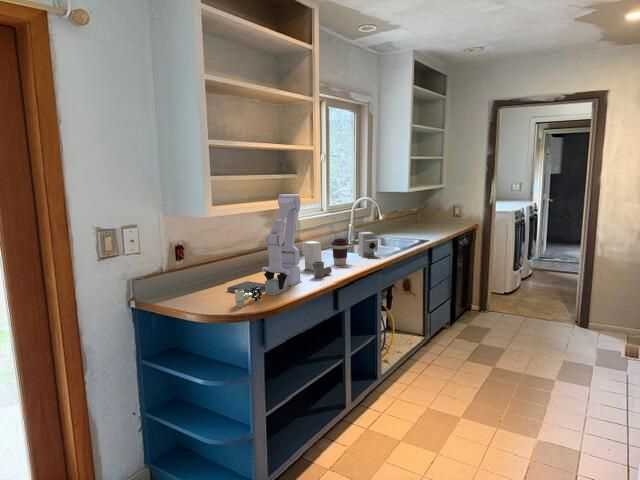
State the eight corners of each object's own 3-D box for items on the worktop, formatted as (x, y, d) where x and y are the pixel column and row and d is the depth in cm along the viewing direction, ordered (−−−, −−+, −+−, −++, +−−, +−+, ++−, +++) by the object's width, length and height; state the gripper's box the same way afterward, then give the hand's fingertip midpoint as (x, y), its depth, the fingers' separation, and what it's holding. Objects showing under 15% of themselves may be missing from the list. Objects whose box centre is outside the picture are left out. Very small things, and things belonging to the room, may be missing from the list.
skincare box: (322, 269, 250) (321, 242, 247) (313, 271, 246) (312, 243, 243) (313, 267, 256) (312, 240, 254) (304, 268, 252) (303, 241, 250)
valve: (242, 308, 180) (262, 301, 190) (241, 292, 179) (262, 286, 189) (230, 306, 184) (251, 299, 193) (230, 290, 183) (251, 284, 192)
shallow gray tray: (247, 284, 218) (247, 280, 218) (271, 288, 210) (271, 284, 210) (227, 291, 206) (227, 287, 206) (252, 295, 199) (252, 291, 198)
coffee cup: (329, 265, 260) (329, 240, 258) (334, 262, 270) (334, 237, 267) (345, 266, 257) (345, 240, 255) (350, 263, 266) (350, 238, 264)
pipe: (333, 274, 236) (333, 260, 235) (317, 279, 227) (317, 264, 226) (325, 273, 240) (325, 258, 239) (308, 277, 231) (308, 262, 230)
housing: (278, 288, 209) (278, 275, 208) (287, 290, 207) (286, 276, 206) (265, 293, 201) (264, 279, 200) (274, 295, 198) (273, 281, 197)
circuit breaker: (368, 258, 278) (368, 235, 276) (358, 255, 292) (358, 232, 289) (378, 257, 281) (379, 234, 279) (368, 254, 294) (368, 231, 292)
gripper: (257, 259, 202) (258, 288, 204) (283, 262, 195) (283, 292, 197) (267, 256, 208) (267, 284, 210) (292, 259, 200) (293, 288, 203)
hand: (276, 288), depth 204 cm, fingers closed on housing, 5 cm apart
